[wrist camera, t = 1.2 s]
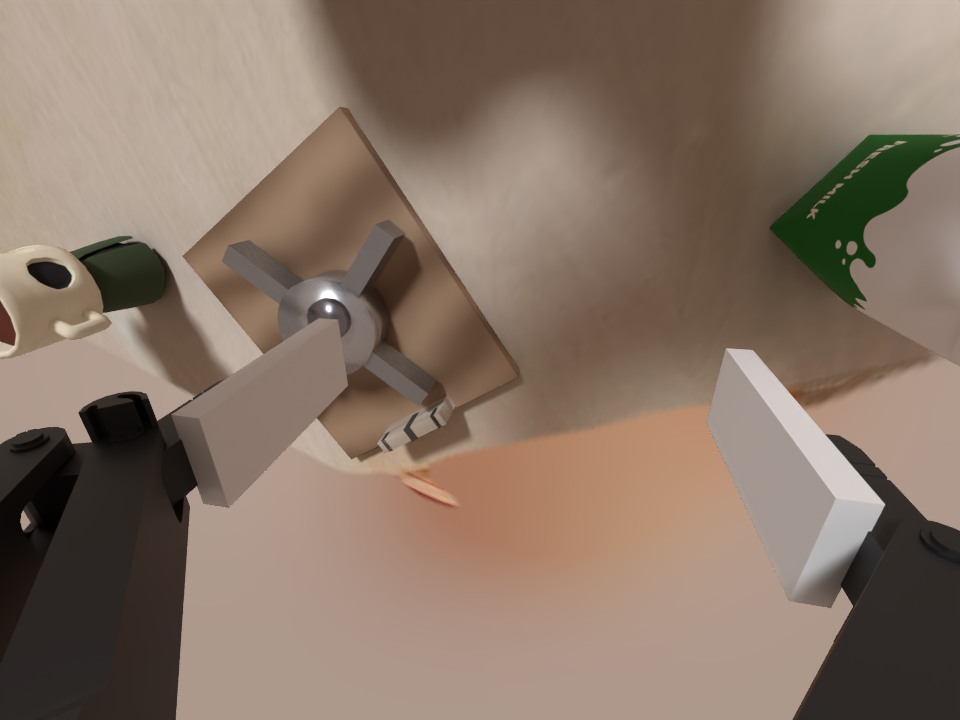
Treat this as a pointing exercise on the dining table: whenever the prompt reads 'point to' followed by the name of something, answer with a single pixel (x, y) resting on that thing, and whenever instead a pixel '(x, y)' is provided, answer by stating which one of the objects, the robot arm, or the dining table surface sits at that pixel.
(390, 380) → the four-spoke handwheel
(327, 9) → the dining table surface
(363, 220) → the wooden mounting board
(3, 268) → the character mug
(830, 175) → the milk carton
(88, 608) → the robot arm
